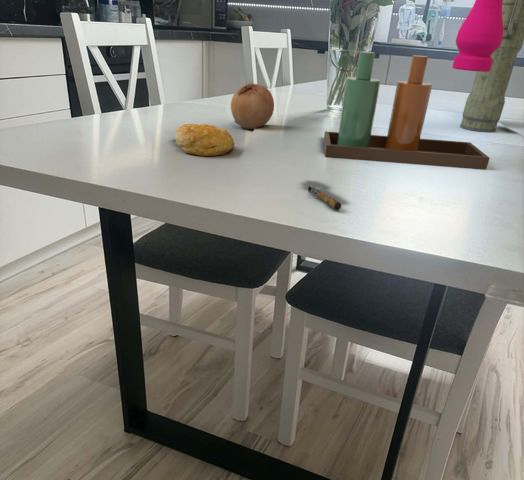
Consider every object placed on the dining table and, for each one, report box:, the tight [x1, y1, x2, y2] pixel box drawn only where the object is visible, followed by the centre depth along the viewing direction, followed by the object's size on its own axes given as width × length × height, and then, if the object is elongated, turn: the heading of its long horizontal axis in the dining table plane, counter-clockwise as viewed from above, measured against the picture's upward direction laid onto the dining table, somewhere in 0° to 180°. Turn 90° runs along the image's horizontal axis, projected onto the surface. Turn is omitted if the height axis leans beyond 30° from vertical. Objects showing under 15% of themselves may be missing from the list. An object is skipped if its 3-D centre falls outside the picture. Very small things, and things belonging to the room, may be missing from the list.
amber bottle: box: [385, 54, 433, 151], centre depth 86 cm, size 6×6×16 cm
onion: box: [230, 82, 275, 130], centre depth 104 cm, size 10×9×10 cm
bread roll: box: [174, 123, 235, 157], centre depth 86 cm, size 10×11×5 cm
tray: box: [323, 130, 491, 171], centre depth 90 cm, size 29×13×3 cm, turn 85°
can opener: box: [307, 185, 342, 211], centre depth 67 cm, size 9×2×1 cm, turn 16°
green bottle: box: [337, 51, 381, 147], centre depth 87 cm, size 6×6×16 cm
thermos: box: [459, 0, 524, 133], centre depth 113 cm, size 9×12×35 cm
